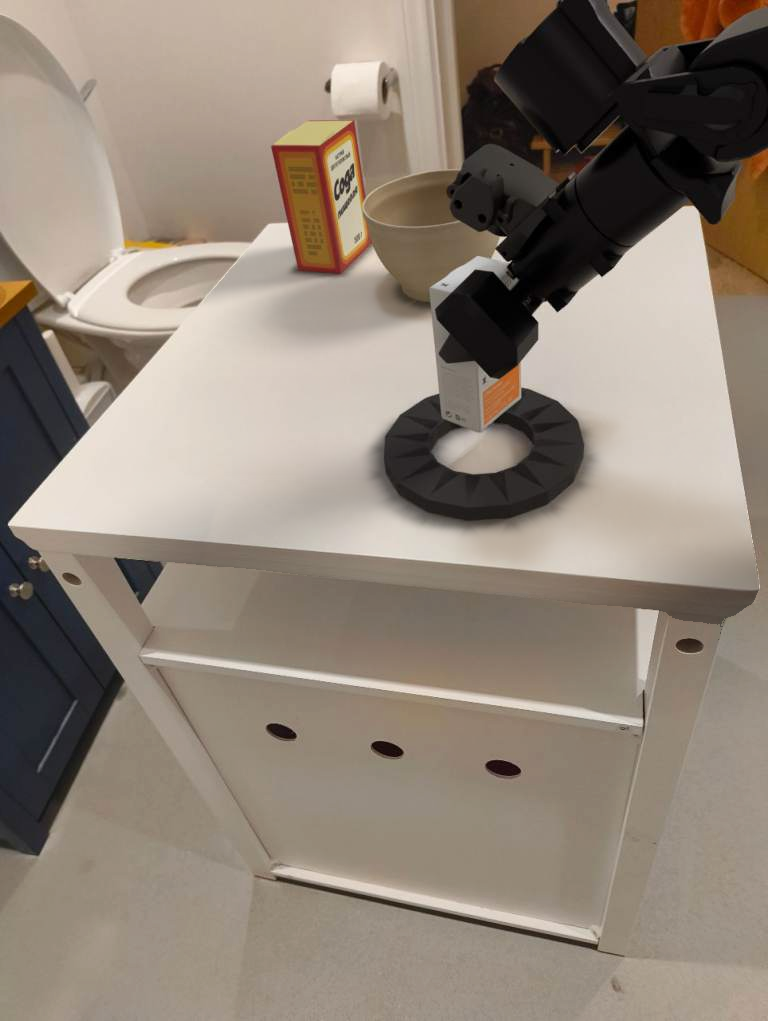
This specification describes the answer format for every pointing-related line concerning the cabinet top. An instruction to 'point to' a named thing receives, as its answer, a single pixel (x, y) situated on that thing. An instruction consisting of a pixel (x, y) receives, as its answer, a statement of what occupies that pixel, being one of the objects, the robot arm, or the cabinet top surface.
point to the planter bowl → (421, 231)
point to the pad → (488, 492)
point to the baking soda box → (323, 194)
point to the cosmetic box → (471, 363)
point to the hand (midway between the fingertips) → (463, 336)
